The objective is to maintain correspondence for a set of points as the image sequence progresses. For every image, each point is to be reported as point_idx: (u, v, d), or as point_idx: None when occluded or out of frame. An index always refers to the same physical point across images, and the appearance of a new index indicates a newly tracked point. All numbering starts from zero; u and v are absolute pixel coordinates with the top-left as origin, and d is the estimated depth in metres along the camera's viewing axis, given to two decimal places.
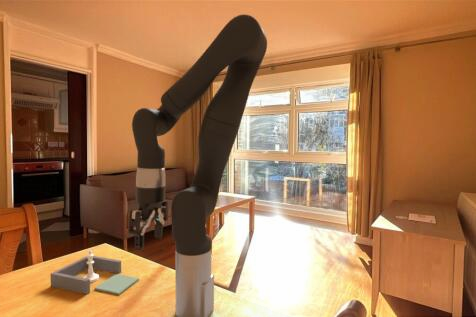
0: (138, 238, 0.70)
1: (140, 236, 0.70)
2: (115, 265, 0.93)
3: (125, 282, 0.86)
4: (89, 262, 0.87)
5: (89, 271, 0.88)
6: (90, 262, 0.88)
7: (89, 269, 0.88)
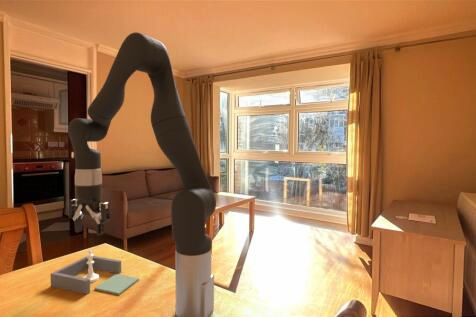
0: (103, 225, 0.86)
1: None
2: (115, 265, 0.93)
3: (125, 282, 0.86)
4: (89, 262, 0.87)
5: (89, 271, 0.88)
6: (90, 262, 0.88)
7: (89, 269, 0.88)
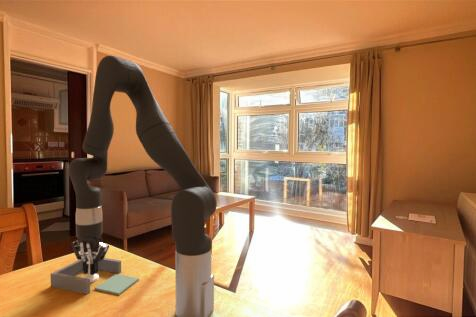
0: (97, 264, 0.88)
1: None
2: (115, 265, 0.93)
3: (125, 282, 0.86)
4: (89, 262, 0.87)
5: (89, 271, 0.88)
6: None
7: (89, 269, 0.88)
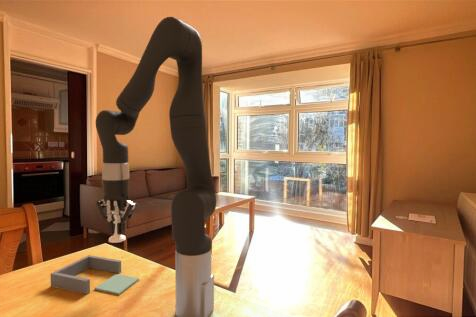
0: (124, 224, 0.84)
1: None
2: (115, 265, 0.93)
3: (125, 282, 0.86)
4: (116, 221, 0.83)
5: (116, 231, 0.84)
6: None
7: (116, 229, 0.84)
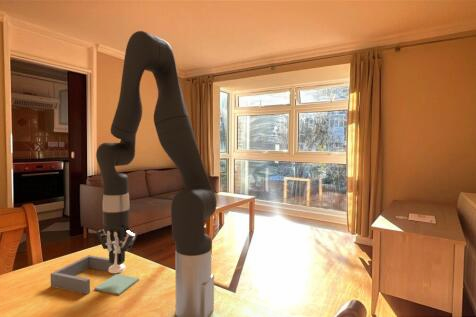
0: (123, 254, 0.84)
1: None
2: None
3: (125, 282, 0.86)
4: (116, 251, 0.84)
5: (116, 261, 0.84)
6: None
7: (116, 259, 0.84)
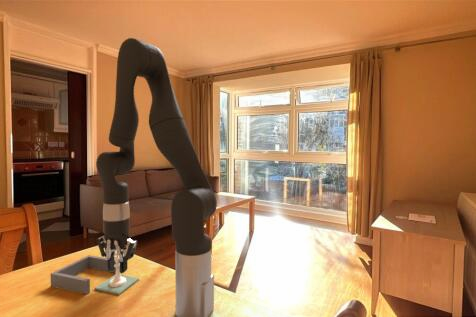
0: (126, 262, 0.84)
1: None
2: None
3: None
4: (117, 265, 0.84)
5: (116, 274, 0.84)
6: (118, 265, 0.84)
7: (116, 272, 0.84)
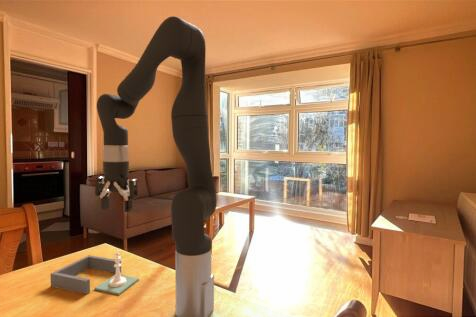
0: (131, 202, 0.86)
1: None
2: None
3: None
4: (116, 265, 0.84)
5: (116, 274, 0.84)
6: (117, 265, 0.84)
7: (116, 272, 0.85)
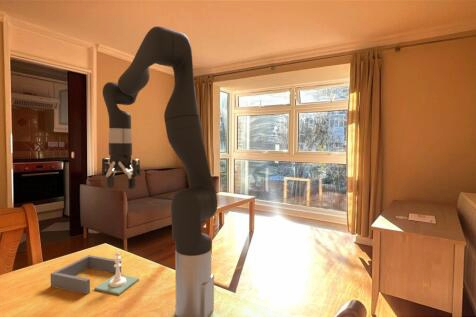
0: (134, 180, 0.95)
1: None
2: None
3: None
4: (116, 265, 0.84)
5: (116, 274, 0.84)
6: (117, 265, 0.84)
7: (116, 272, 0.85)
